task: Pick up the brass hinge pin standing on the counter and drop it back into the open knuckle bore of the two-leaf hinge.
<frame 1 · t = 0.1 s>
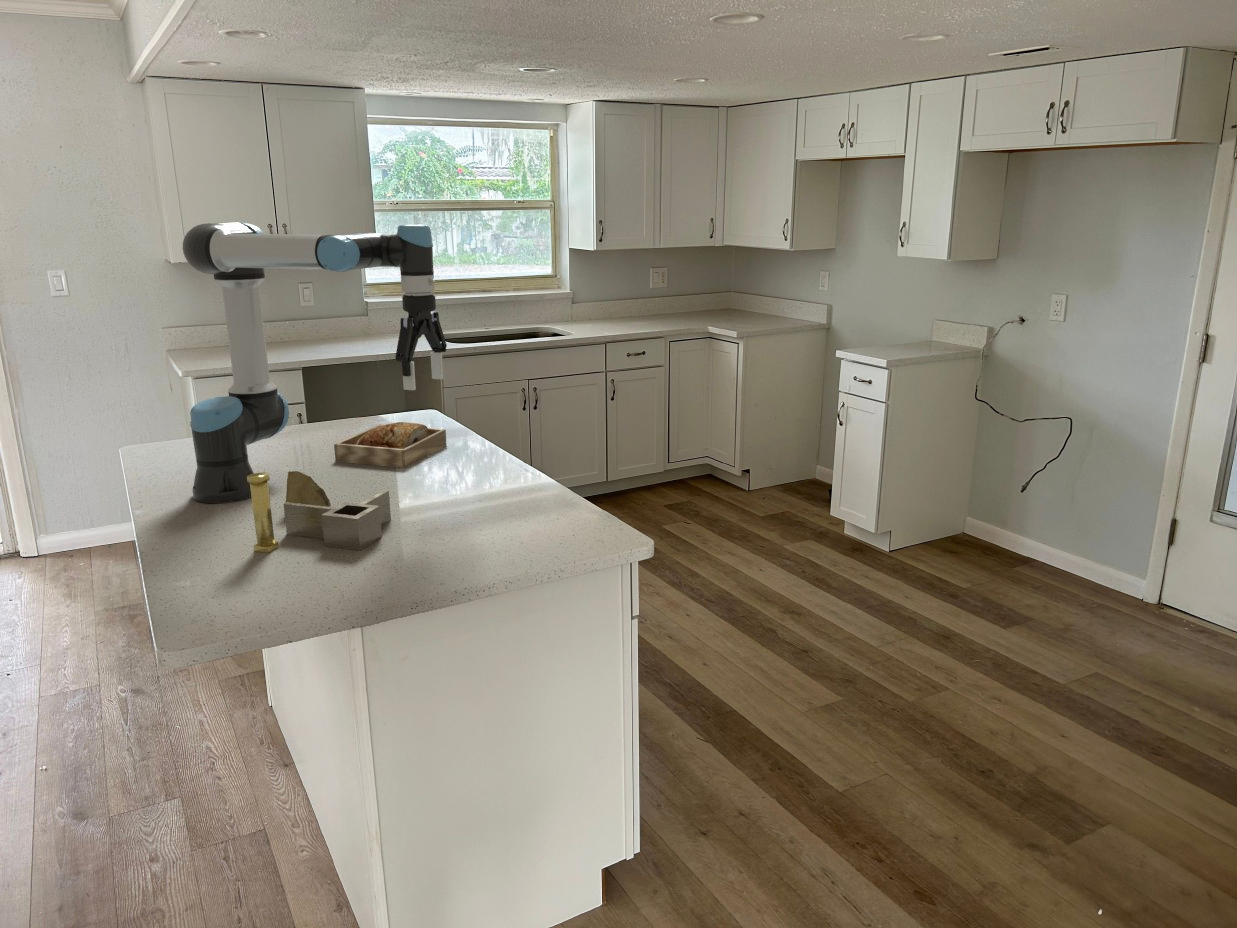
hand: (424, 384, 211), 28 cm above the countertop, fingers open, 13 cm apart
bread: (393, 455, 256), resting in bread crate
hinge: (353, 541, 190), on the countertop
bread crate: (392, 453, 256), on the countertop
hinge pin: (266, 548, 185), on the countertop
rock: (308, 512, 208), on the countertop
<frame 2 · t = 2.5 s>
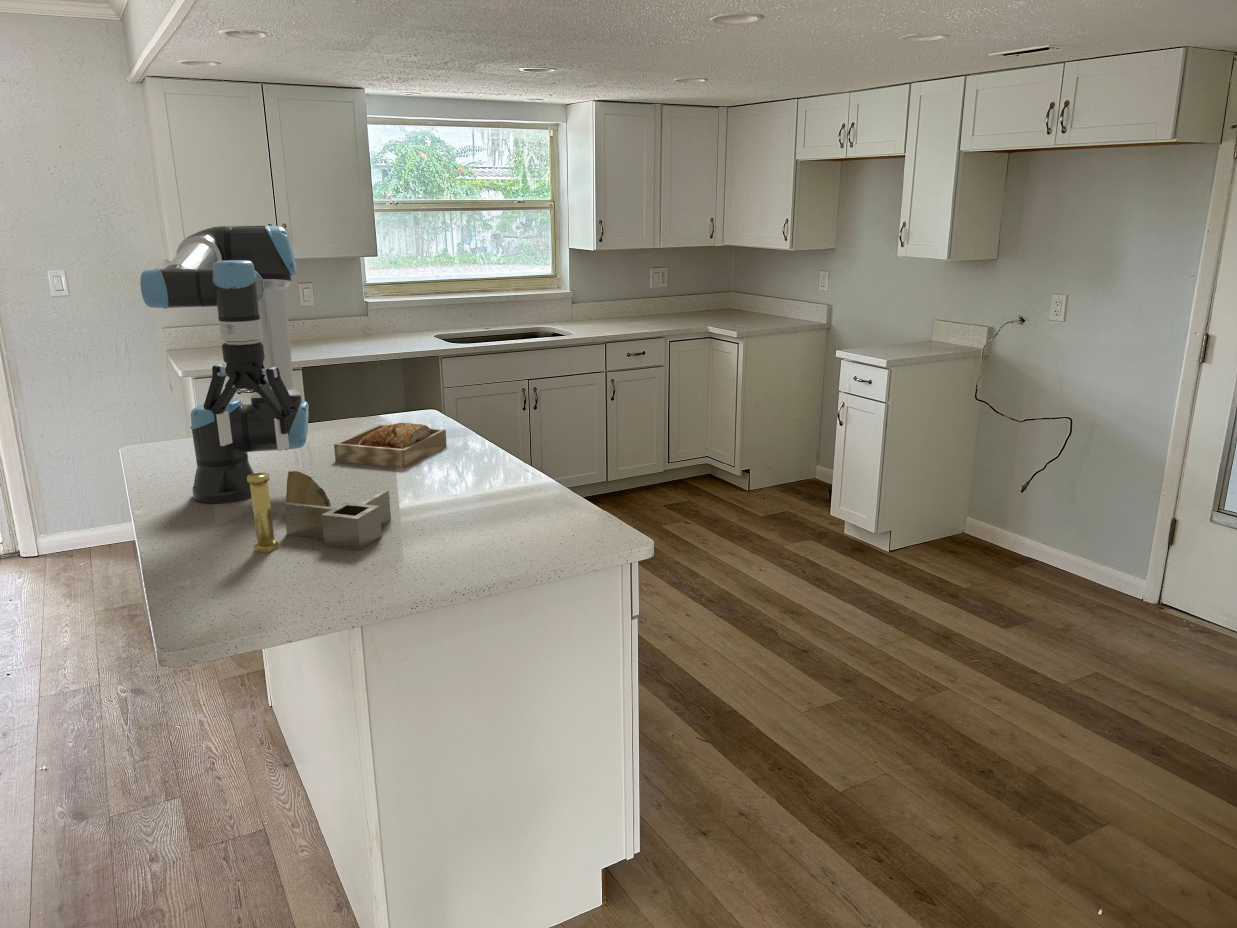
hand: (254, 446, 179), 22 cm above the countertop, fingers open, 13 cm apart
bread: (395, 455, 255), resting in bread crate
everything else where it was.
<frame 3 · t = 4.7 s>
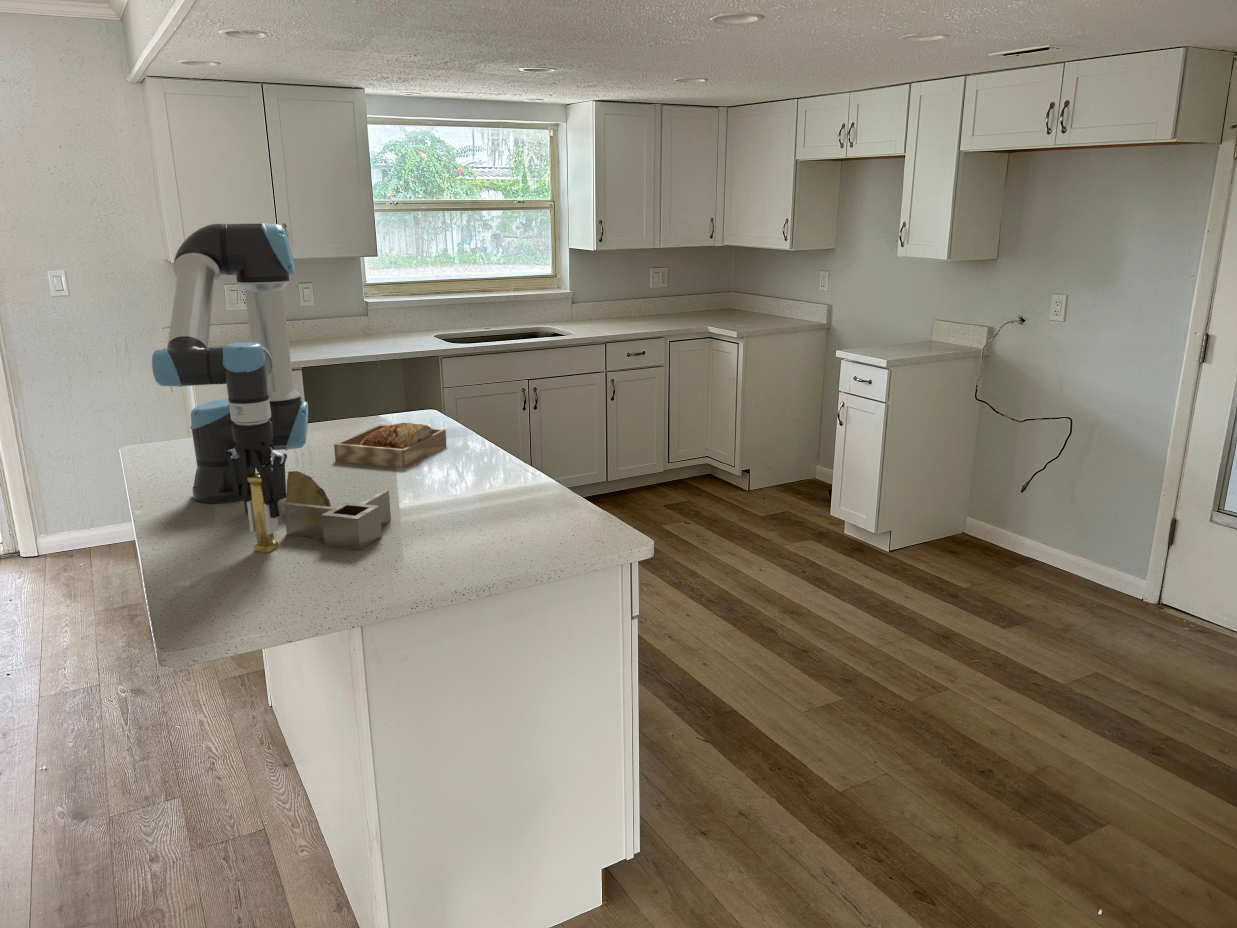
hand: (264, 530, 184), 4 cm above the countertop, fingers closed on hinge pin, 3 cm apart
hinge pin: (266, 548, 185), on the countertop, touching gripper
everything else where it was.
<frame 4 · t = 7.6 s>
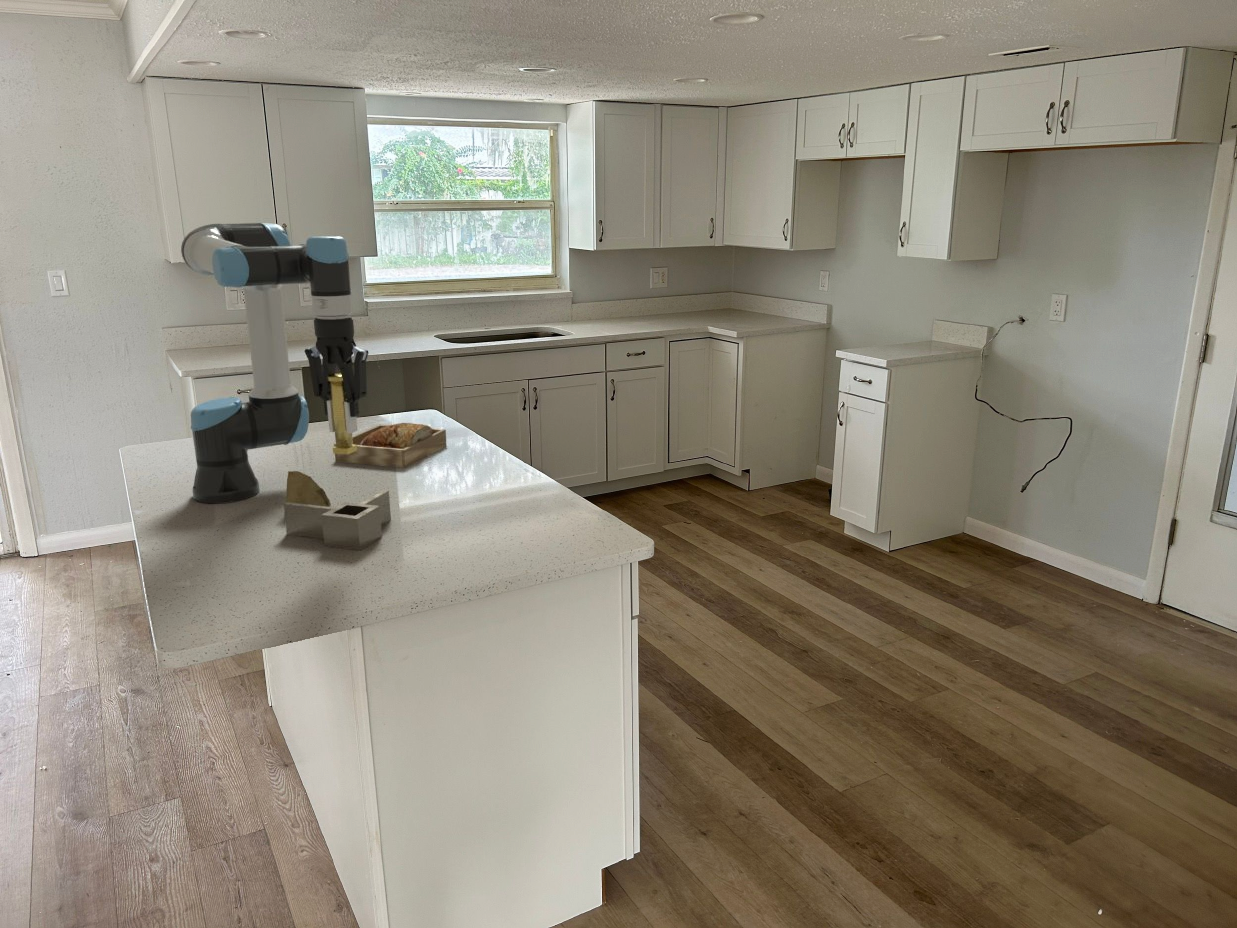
hand: (343, 431, 183), 24 cm above the countertop, fingers closed on hinge pin, 3 cm apart
hinge pin: (345, 451, 184), point 20 cm above the countertop, touching gripper
everything else where it was.
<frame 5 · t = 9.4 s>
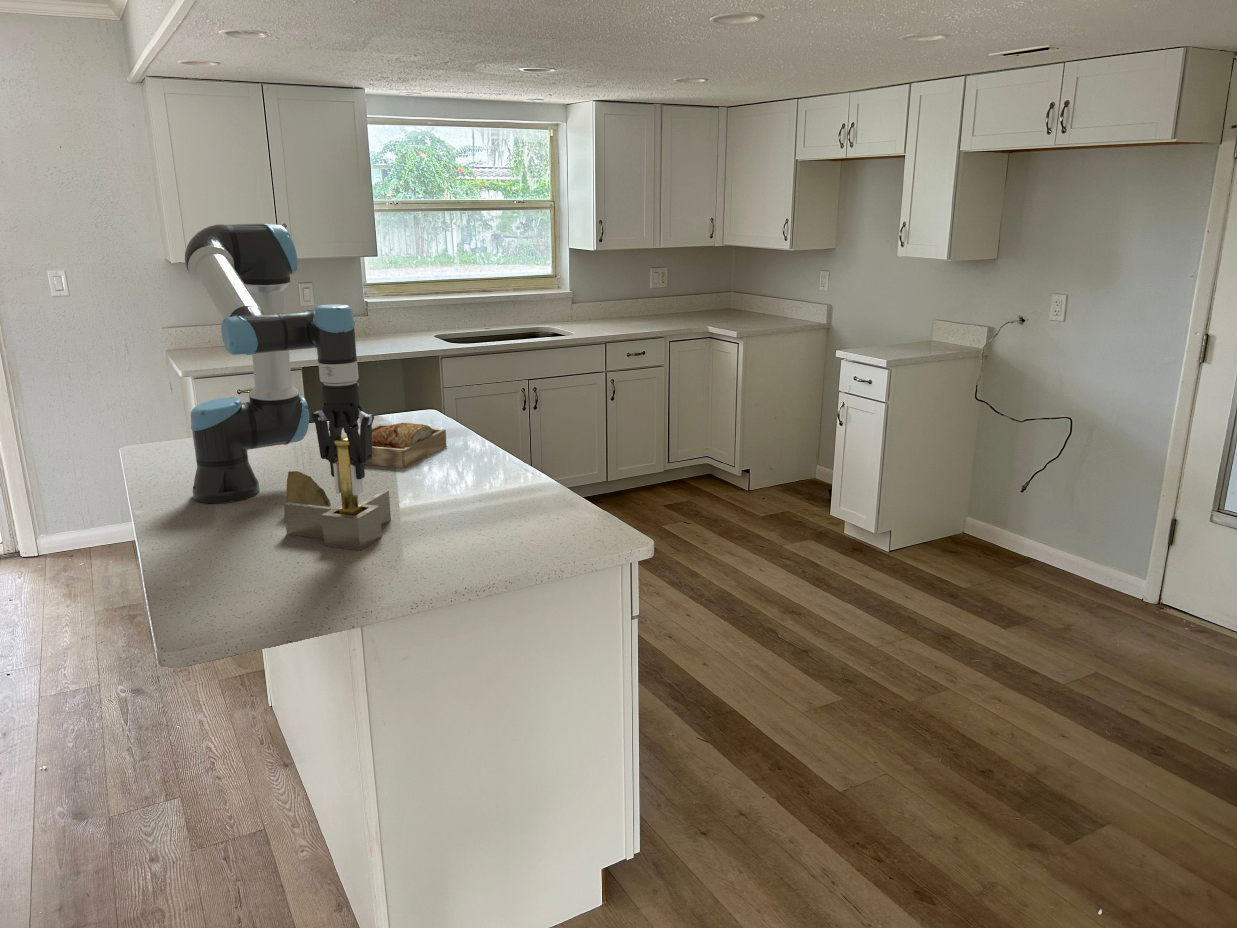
hand: (349, 492, 186), 11 cm above the countertop, fingers closed on hinge pin, 3 cm apart
hinge pin: (351, 512, 188), point 7 cm above the countertop, touching gripper
everything else where it was.
when the fingers open (9 cm above the countertop, at t = 10.7 s): hinge pin drops 3 cm, resting on hinge.
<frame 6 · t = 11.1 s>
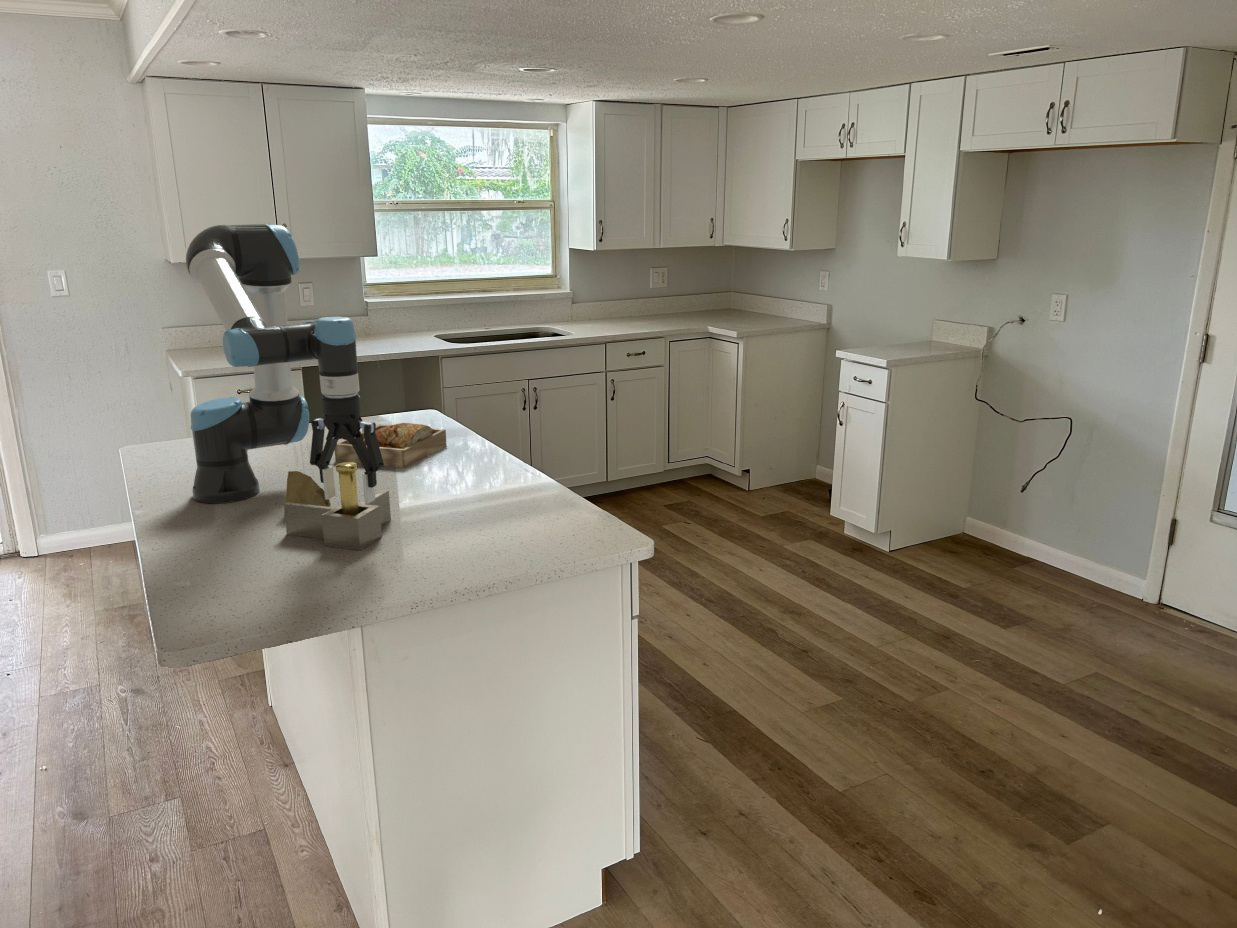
hand: (350, 499, 187), 9 cm above the countertop, fingers open, 9 cm apart
hinge pin: (352, 536, 189), point 1 cm above the countertop, touching hinge
everything else where it was.
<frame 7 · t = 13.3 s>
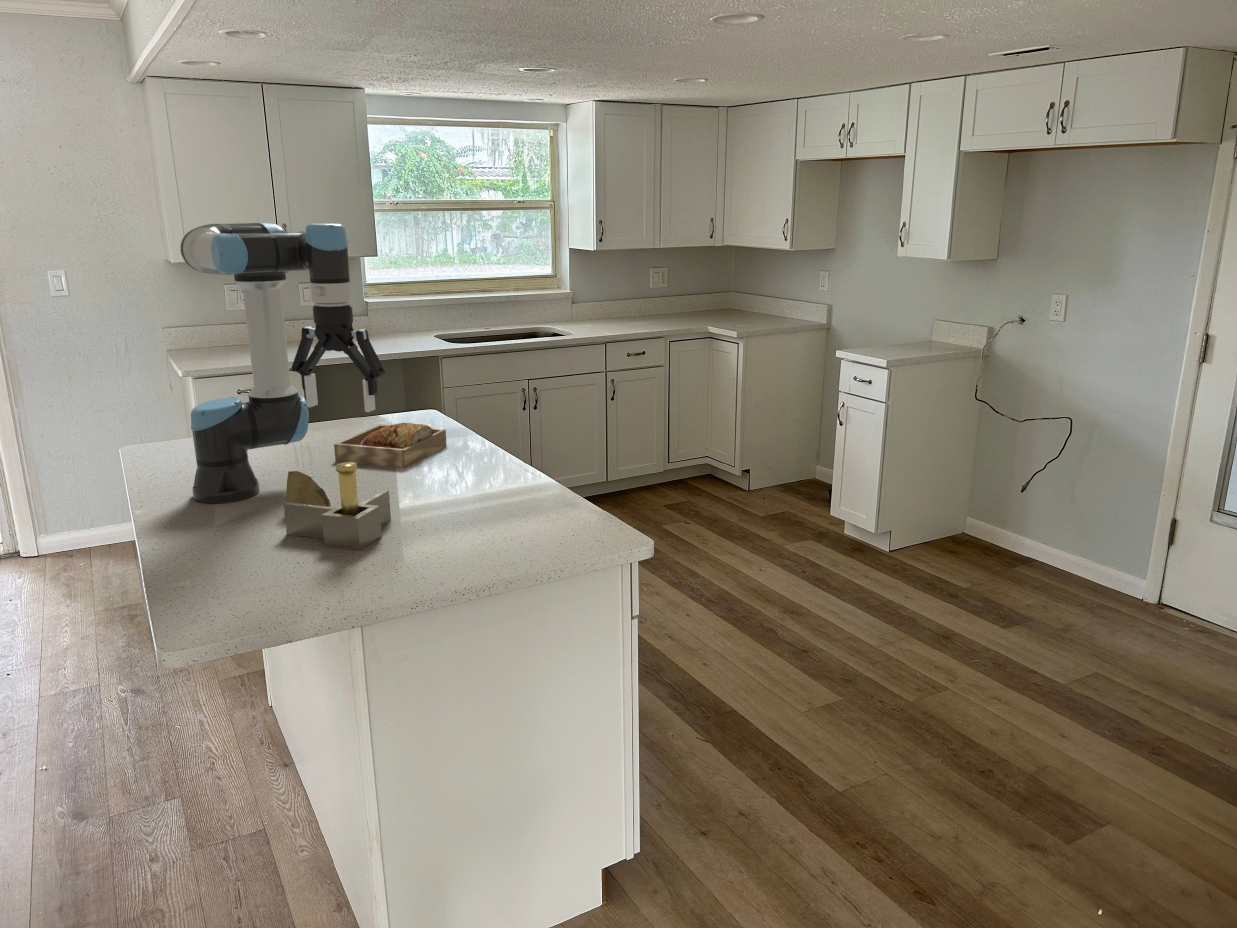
hand: (341, 408, 182), 29 cm above the countertop, fingers open, 13 cm apart
bread: (397, 455, 255), resting in bread crate
everything else where it was.
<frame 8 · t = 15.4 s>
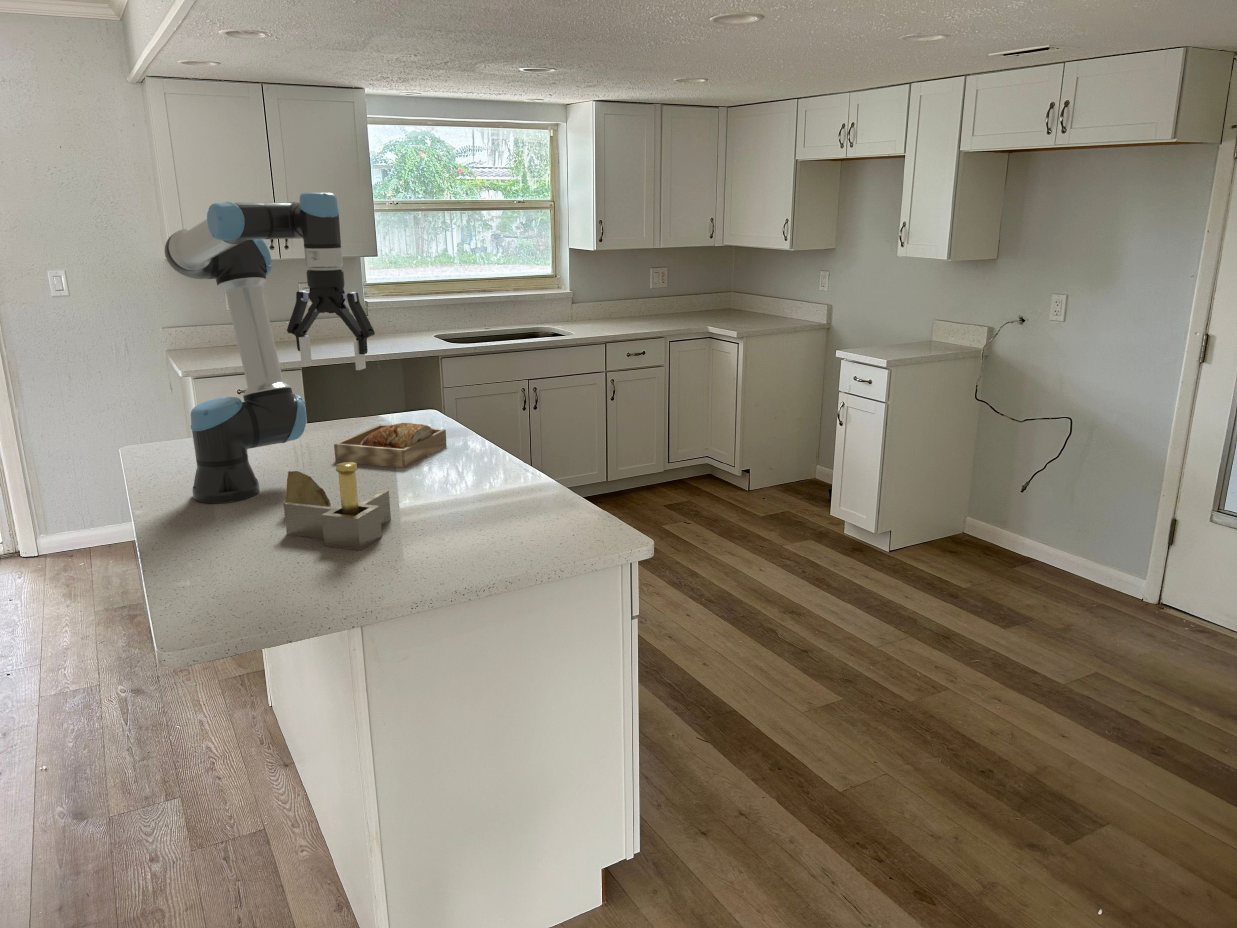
hand: (333, 367, 194), 35 cm above the countertop, fingers open, 13 cm apart
bread: (397, 455, 255), resting in bread crate
everything else where it was.
at the end: hinge pin 0.1 cm off-centre on the hinge, point 1.0 cm above the hinge's base; hinge pin tilted 0°; the gripper is holding nothing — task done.
